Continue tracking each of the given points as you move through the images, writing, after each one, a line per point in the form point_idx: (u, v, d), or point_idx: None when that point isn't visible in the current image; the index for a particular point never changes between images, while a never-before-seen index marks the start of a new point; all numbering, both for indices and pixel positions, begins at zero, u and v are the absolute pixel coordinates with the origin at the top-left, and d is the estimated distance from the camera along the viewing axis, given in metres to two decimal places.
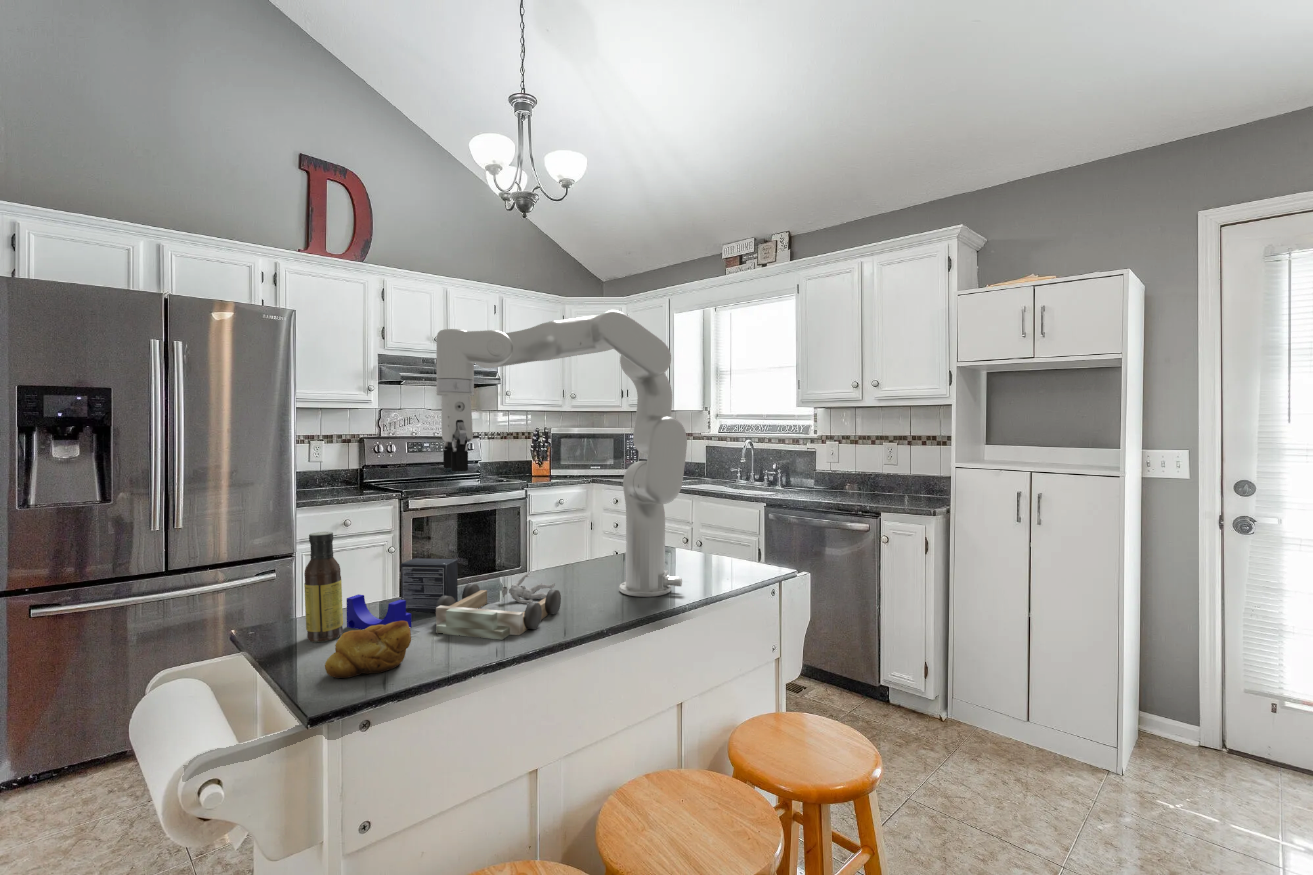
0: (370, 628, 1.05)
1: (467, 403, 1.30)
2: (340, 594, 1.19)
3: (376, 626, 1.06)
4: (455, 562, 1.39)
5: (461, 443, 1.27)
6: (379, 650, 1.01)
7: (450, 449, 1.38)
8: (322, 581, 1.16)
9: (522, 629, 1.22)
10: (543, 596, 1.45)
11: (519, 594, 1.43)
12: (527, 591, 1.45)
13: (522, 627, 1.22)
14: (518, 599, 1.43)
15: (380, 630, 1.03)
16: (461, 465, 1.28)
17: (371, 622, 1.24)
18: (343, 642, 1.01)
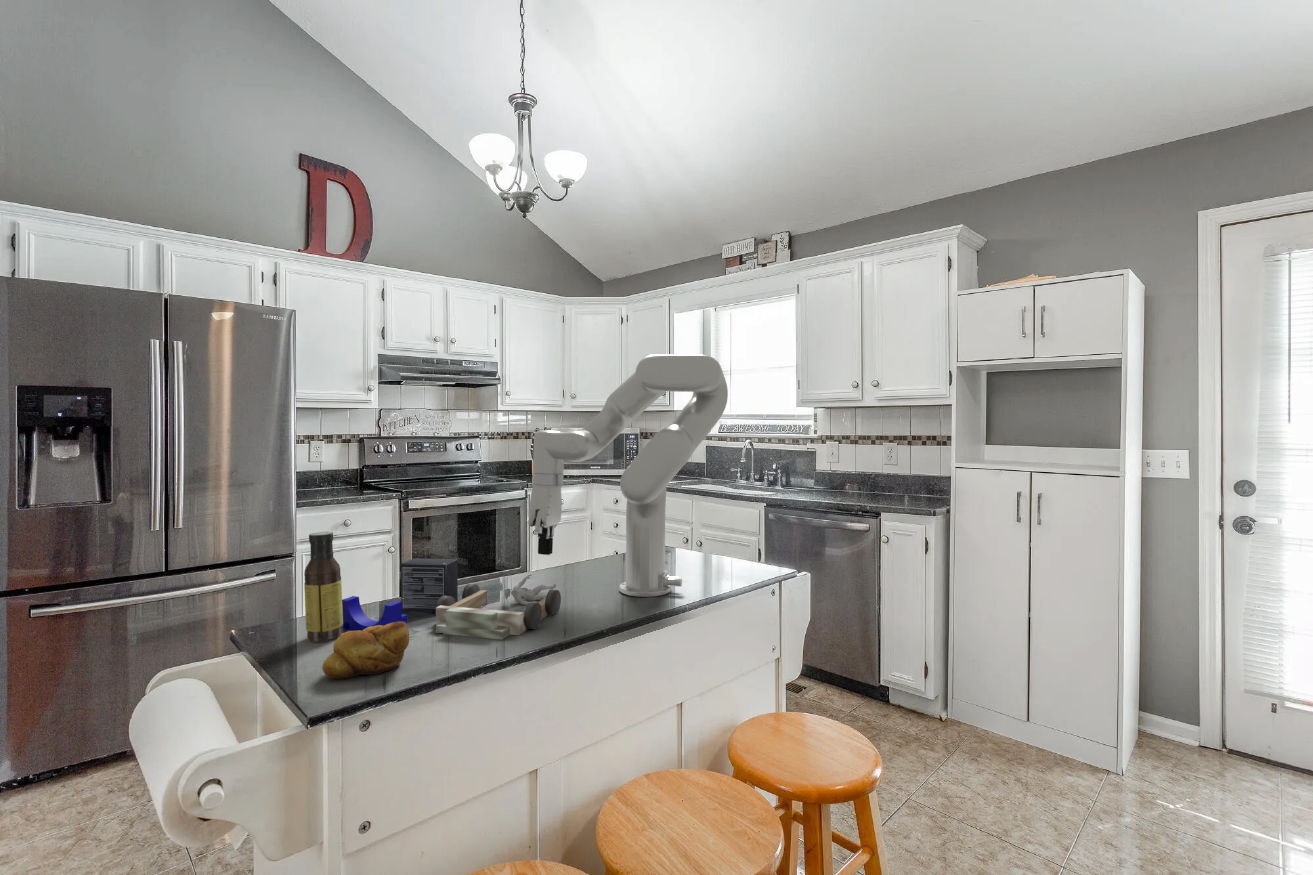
0: (368, 629, 1.05)
1: None
2: (340, 594, 1.19)
3: (374, 627, 1.05)
4: (455, 562, 1.39)
5: None
6: (376, 651, 1.01)
7: None
8: (322, 581, 1.16)
9: (522, 629, 1.22)
10: (545, 597, 1.45)
11: (522, 596, 1.42)
12: (529, 593, 1.44)
13: (522, 627, 1.22)
14: (521, 601, 1.41)
15: (378, 631, 1.03)
16: None
17: (367, 624, 1.23)
18: (340, 643, 1.00)
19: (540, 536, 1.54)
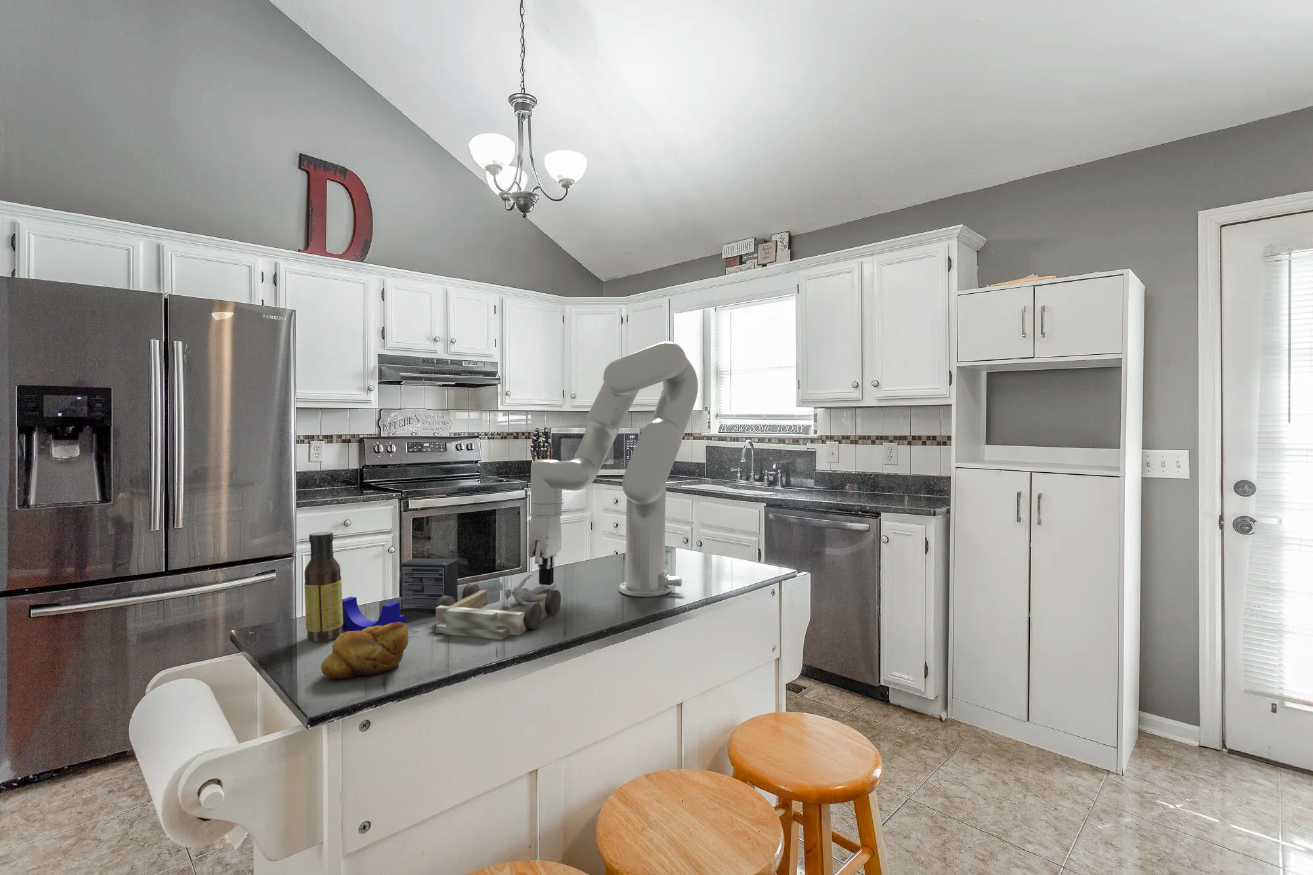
0: (367, 629, 1.05)
1: None
2: (340, 594, 1.19)
3: (373, 627, 1.05)
4: (455, 562, 1.39)
5: None
6: (375, 651, 1.00)
7: None
8: (322, 581, 1.16)
9: (522, 629, 1.22)
10: None
11: (523, 596, 1.42)
12: (530, 593, 1.43)
13: (522, 627, 1.22)
14: (522, 601, 1.41)
15: (377, 631, 1.03)
16: None
17: (364, 624, 1.23)
18: (339, 643, 1.00)
19: (540, 567, 1.53)
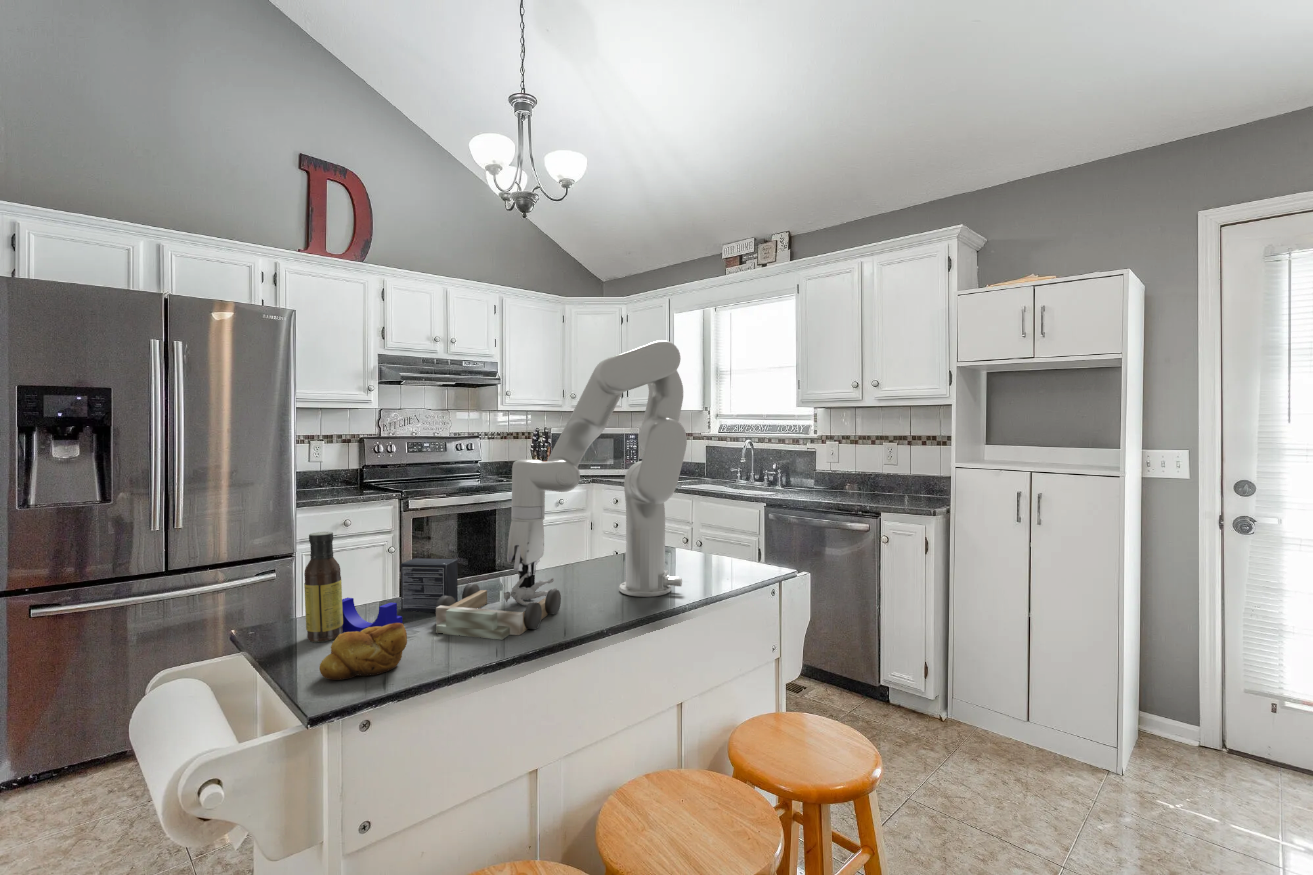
0: (366, 630, 1.04)
1: None
2: (340, 594, 1.19)
3: (372, 628, 1.05)
4: (455, 562, 1.39)
5: None
6: (373, 652, 1.00)
7: None
8: (322, 581, 1.16)
9: (522, 629, 1.22)
10: (545, 594, 1.44)
11: (522, 596, 1.40)
12: (529, 592, 1.42)
13: (522, 627, 1.22)
14: (522, 602, 1.40)
15: (375, 632, 1.02)
16: None
17: (361, 625, 1.22)
18: (337, 644, 1.00)
19: (521, 573, 1.44)
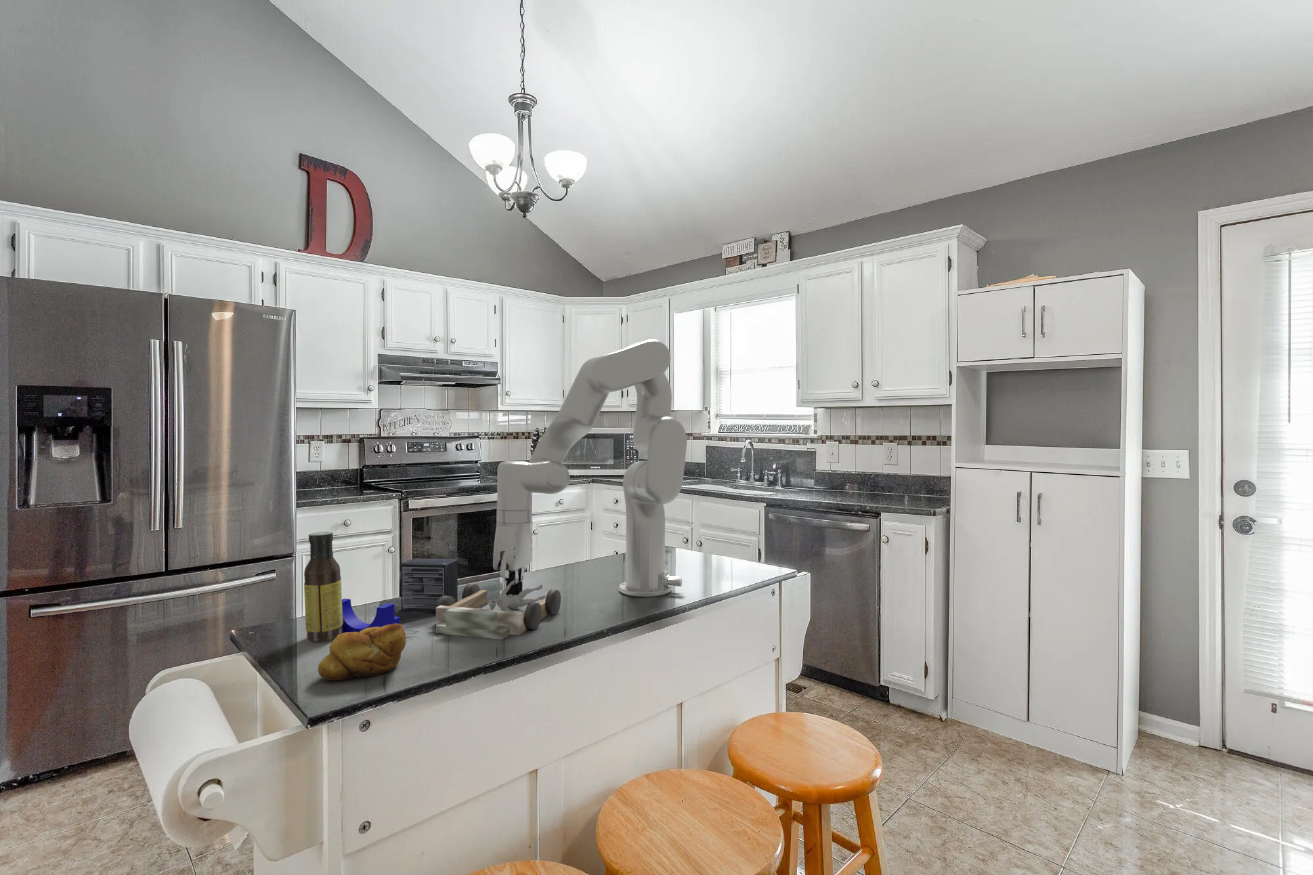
0: (365, 630, 1.04)
1: None
2: (340, 594, 1.19)
3: (371, 628, 1.05)
4: (455, 562, 1.39)
5: None
6: (371, 653, 1.00)
7: None
8: (321, 581, 1.16)
9: (522, 629, 1.22)
10: (533, 602, 1.37)
11: (508, 605, 1.34)
12: (516, 599, 1.36)
13: (522, 627, 1.22)
14: None
15: (374, 633, 1.02)
16: None
17: (359, 626, 1.21)
18: (336, 644, 1.00)
19: (507, 580, 1.38)
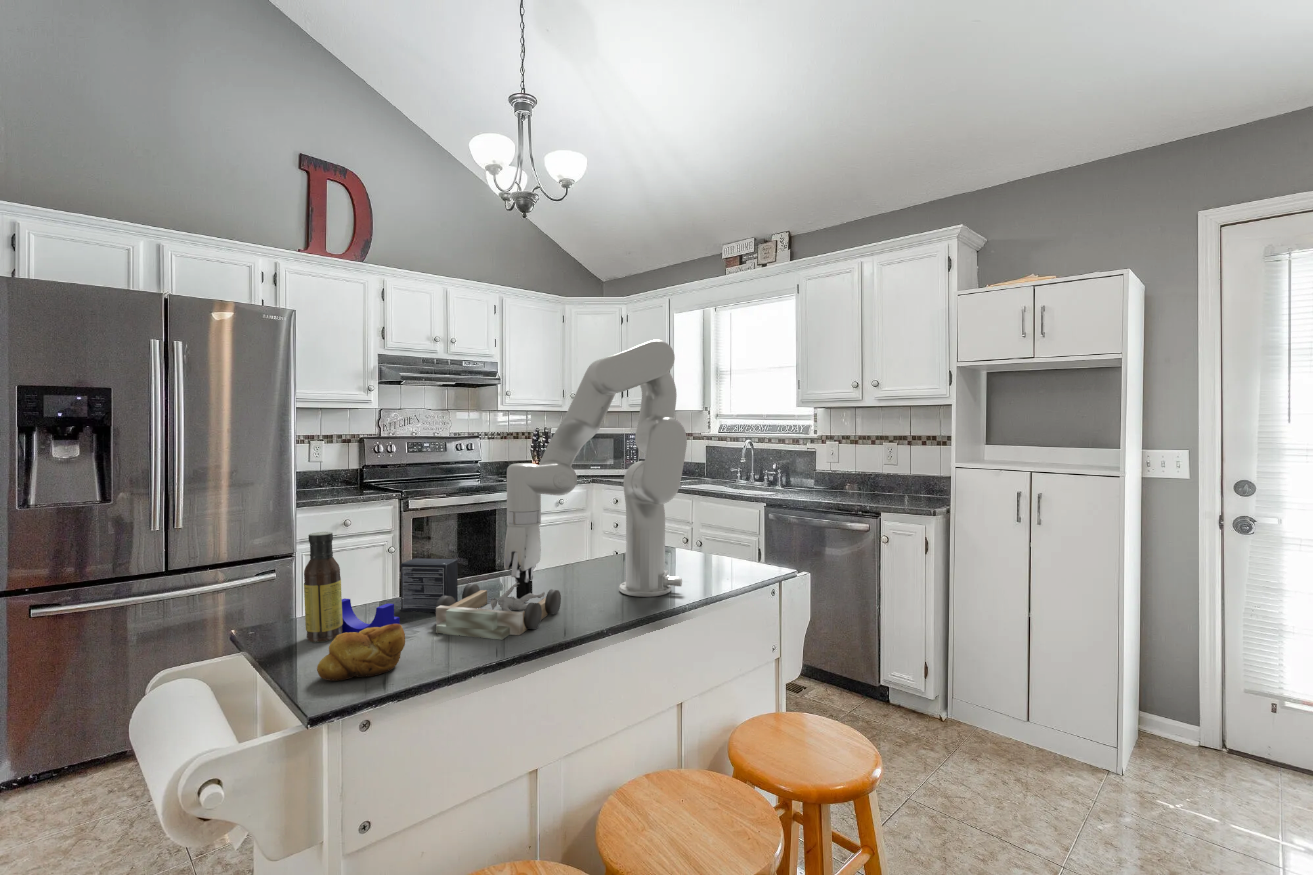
0: (365, 630, 1.04)
1: None
2: (340, 594, 1.19)
3: (371, 629, 1.05)
4: (455, 562, 1.39)
5: None
6: (370, 653, 1.00)
7: None
8: (321, 581, 1.16)
9: (522, 629, 1.22)
10: None
11: (509, 605, 1.34)
12: (517, 602, 1.36)
13: (522, 627, 1.22)
14: None
15: (373, 633, 1.02)
16: None
17: (358, 626, 1.21)
18: (335, 644, 0.99)
19: (518, 580, 1.41)
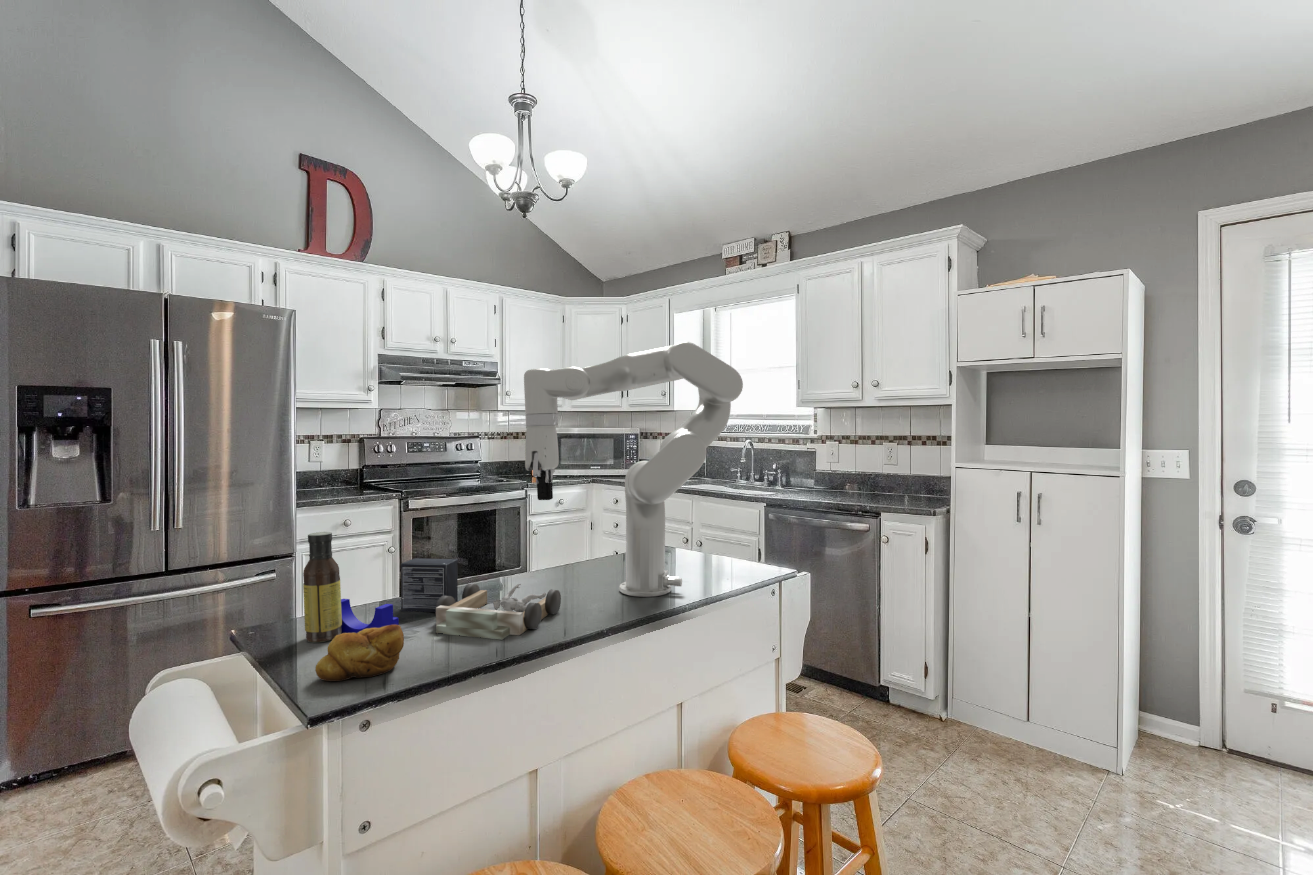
0: (363, 631, 1.04)
1: None
2: (339, 594, 1.19)
3: (370, 629, 1.04)
4: (455, 562, 1.39)
5: None
6: (369, 654, 0.99)
7: None
8: (320, 581, 1.16)
9: (522, 629, 1.22)
10: None
11: (512, 607, 1.34)
12: (520, 603, 1.35)
13: (522, 627, 1.22)
14: None
15: (372, 634, 1.02)
16: None
17: (357, 627, 1.21)
18: (333, 645, 0.99)
19: (539, 480, 1.46)
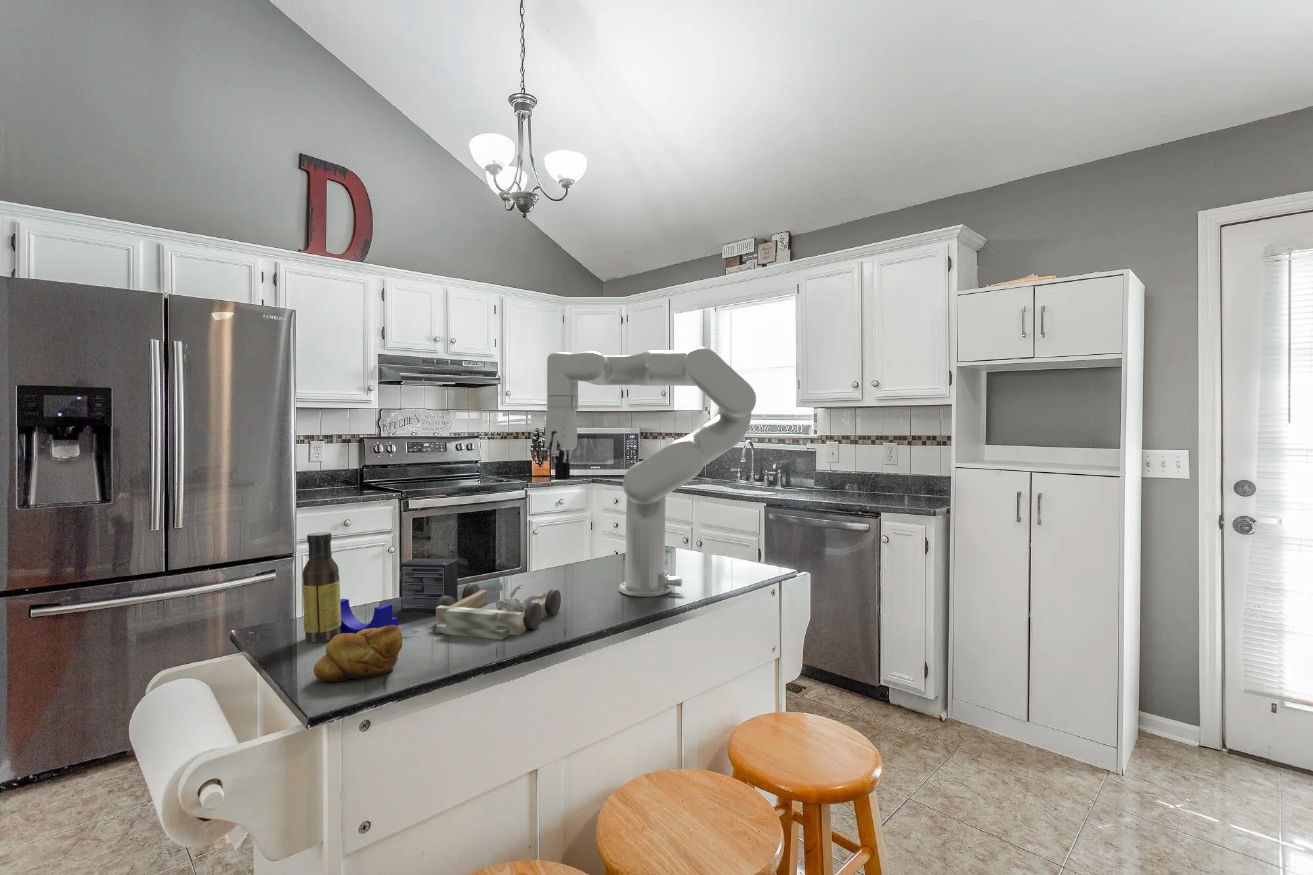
0: (362, 632, 1.04)
1: None
2: (338, 595, 1.19)
3: (368, 630, 1.04)
4: (455, 562, 1.39)
5: None
6: (367, 655, 0.99)
7: None
8: (319, 581, 1.16)
9: (522, 629, 1.22)
10: None
11: (515, 608, 1.33)
12: (522, 604, 1.35)
13: (522, 627, 1.22)
14: None
15: (370, 634, 1.01)
16: None
17: (356, 627, 1.21)
18: (331, 645, 0.99)
19: (557, 460, 1.52)
